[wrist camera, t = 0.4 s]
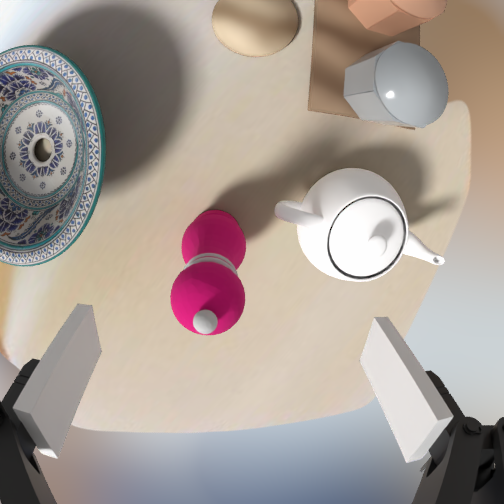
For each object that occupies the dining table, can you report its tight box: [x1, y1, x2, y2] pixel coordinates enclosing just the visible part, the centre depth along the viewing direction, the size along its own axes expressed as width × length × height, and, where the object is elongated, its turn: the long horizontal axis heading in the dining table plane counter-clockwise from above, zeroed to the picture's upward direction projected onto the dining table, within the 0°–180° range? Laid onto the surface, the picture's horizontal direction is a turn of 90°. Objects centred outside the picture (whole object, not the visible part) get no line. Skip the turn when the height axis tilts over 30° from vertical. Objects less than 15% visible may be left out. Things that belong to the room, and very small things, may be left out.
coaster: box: [212, 0, 298, 57], centre depth 30 cm, size 10×10×1 cm
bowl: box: [0, 45, 106, 266], centre depth 30 cm, size 25×25×10 cm
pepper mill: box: [170, 210, 246, 335], centre depth 31 cm, size 7×7×20 cm
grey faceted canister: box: [343, 41, 448, 128], centre depth 29 cm, size 8×8×9 cm
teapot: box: [274, 168, 445, 282], centre depth 36 cm, size 22×14×11 cm, turn 75°
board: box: [308, 0, 420, 130], centre depth 31 cm, size 20×14×2 cm
